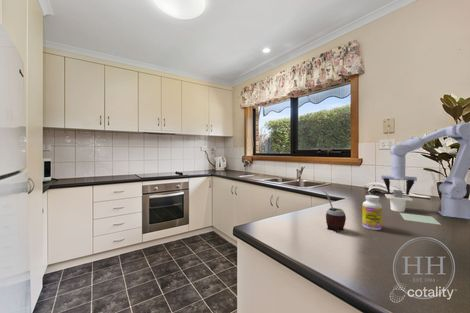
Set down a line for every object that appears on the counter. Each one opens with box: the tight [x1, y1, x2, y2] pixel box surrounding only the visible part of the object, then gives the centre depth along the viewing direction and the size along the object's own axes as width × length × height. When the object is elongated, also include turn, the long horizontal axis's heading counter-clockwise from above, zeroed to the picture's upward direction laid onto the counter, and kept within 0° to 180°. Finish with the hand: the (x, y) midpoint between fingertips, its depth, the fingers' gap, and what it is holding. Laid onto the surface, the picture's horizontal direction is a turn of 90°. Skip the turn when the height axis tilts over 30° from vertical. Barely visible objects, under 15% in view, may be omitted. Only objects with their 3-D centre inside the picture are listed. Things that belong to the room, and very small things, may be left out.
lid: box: [384, 189, 414, 202], centre depth 107 cm, size 10×10×4 cm
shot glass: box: [389, 199, 407, 213], centre depth 107 cm, size 7×7×7 cm
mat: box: [399, 212, 442, 226], centre depth 94 cm, size 12×12×1 cm
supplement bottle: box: [361, 194, 383, 231], centre depth 84 cm, size 7×7×13 cm
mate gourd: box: [322, 189, 347, 233], centre depth 82 cm, size 8×8×15 cm
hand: (397, 193), depth 107 cm, fingers open, 7 cm apart
